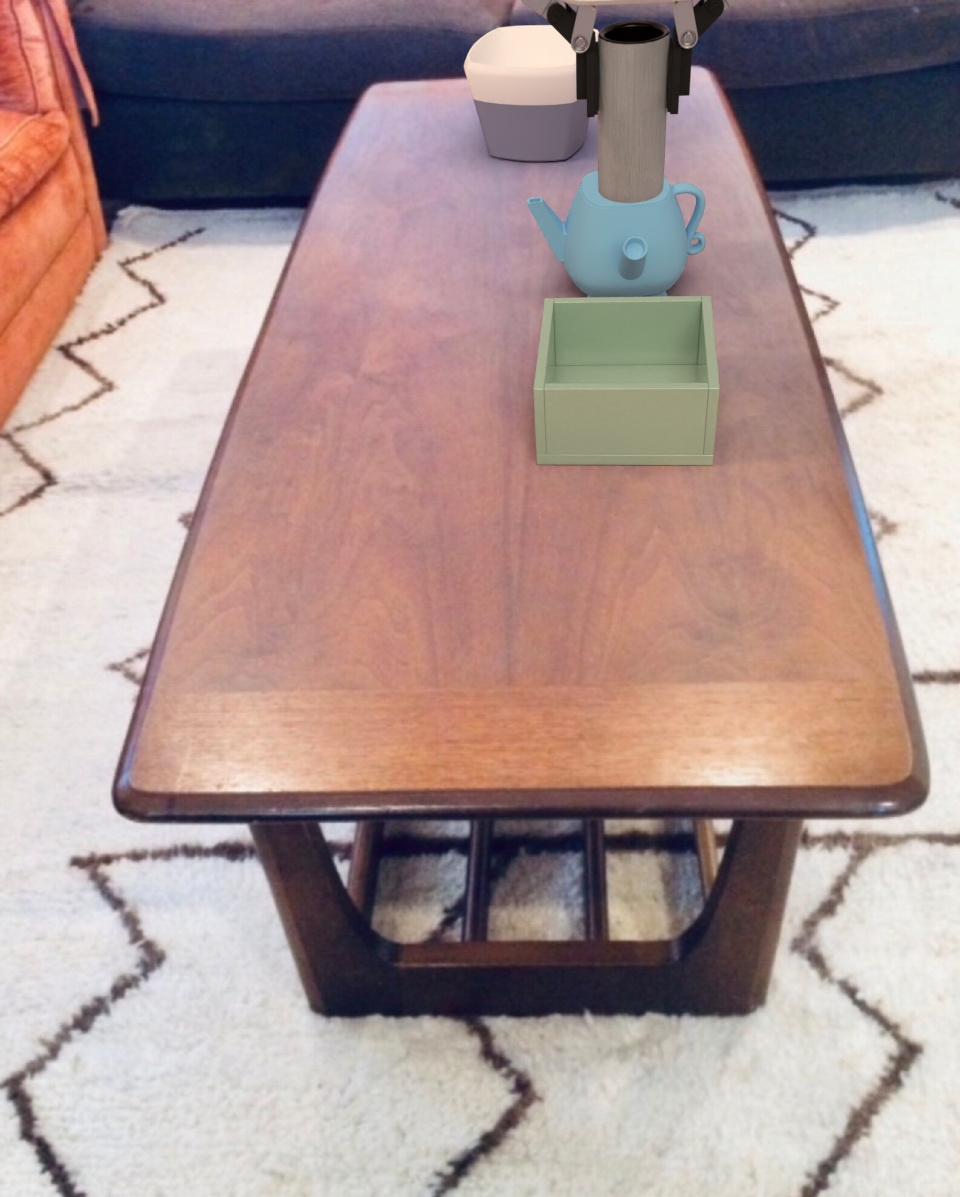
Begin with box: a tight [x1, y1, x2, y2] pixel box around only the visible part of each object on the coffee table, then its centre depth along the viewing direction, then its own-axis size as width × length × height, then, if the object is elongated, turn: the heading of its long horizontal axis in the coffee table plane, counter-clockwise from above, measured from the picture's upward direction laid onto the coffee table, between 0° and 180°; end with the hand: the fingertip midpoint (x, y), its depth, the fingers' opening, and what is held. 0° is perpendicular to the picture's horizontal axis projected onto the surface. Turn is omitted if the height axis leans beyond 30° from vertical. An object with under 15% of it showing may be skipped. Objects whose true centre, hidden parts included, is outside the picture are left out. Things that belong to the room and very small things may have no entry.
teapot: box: [526, 169, 707, 298], centre depth 102 cm, size 15×14×11 cm
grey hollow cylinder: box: [597, 19, 671, 203], centre depth 73 cm, size 4×4×10 cm
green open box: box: [532, 295, 721, 466], centre depth 88 cm, size 14×14×7 cm
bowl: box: [463, 24, 600, 162], centre depth 128 cm, size 15×15×11 cm
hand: (632, 105), depth 73 cm, fingers closed on grey hollow cylinder, 4 cm apart
